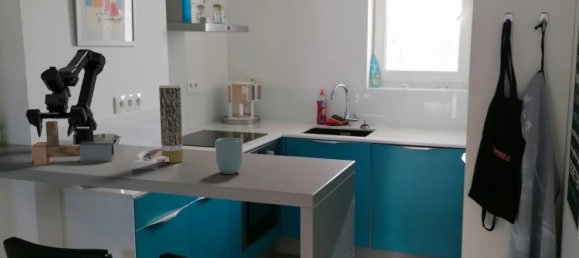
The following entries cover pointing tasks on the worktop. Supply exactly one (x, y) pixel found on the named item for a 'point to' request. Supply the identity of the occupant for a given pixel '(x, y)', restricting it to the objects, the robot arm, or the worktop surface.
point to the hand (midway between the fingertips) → (53, 136)
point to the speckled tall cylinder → (171, 122)
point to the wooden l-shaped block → (53, 143)
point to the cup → (229, 155)
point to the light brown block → (40, 153)
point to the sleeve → (96, 151)
